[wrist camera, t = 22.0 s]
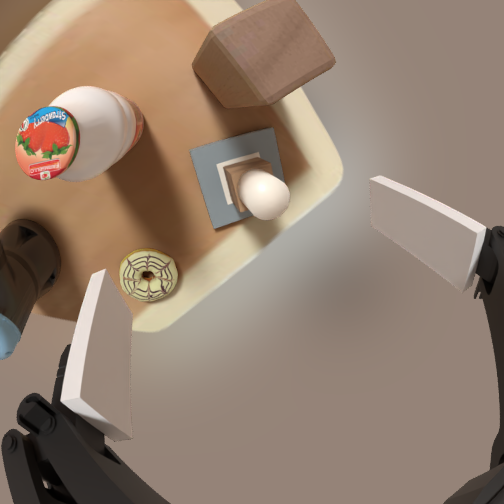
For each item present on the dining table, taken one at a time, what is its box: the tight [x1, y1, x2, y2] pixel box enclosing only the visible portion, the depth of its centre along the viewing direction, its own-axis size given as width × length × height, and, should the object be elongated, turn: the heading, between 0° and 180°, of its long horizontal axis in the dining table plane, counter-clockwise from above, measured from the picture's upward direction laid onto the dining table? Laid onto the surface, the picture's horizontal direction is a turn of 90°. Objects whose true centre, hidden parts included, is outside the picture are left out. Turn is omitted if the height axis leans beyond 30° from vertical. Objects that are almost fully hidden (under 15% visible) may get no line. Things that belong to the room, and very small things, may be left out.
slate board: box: [189, 127, 285, 229], centre depth 46 cm, size 14×14×2 cm
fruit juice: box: [15, 86, 144, 182], centre depth 24 cm, size 9×9×28 cm
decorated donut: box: [119, 248, 178, 302], centre depth 48 cm, size 10×11×4 cm
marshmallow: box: [236, 169, 290, 220], centre depth 37 cm, size 6×6×6 cm
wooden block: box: [192, 0, 336, 109], centre depth 29 cm, size 10×10×20 cm
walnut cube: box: [223, 157, 273, 212], centre depth 42 cm, size 6×6×6 cm
